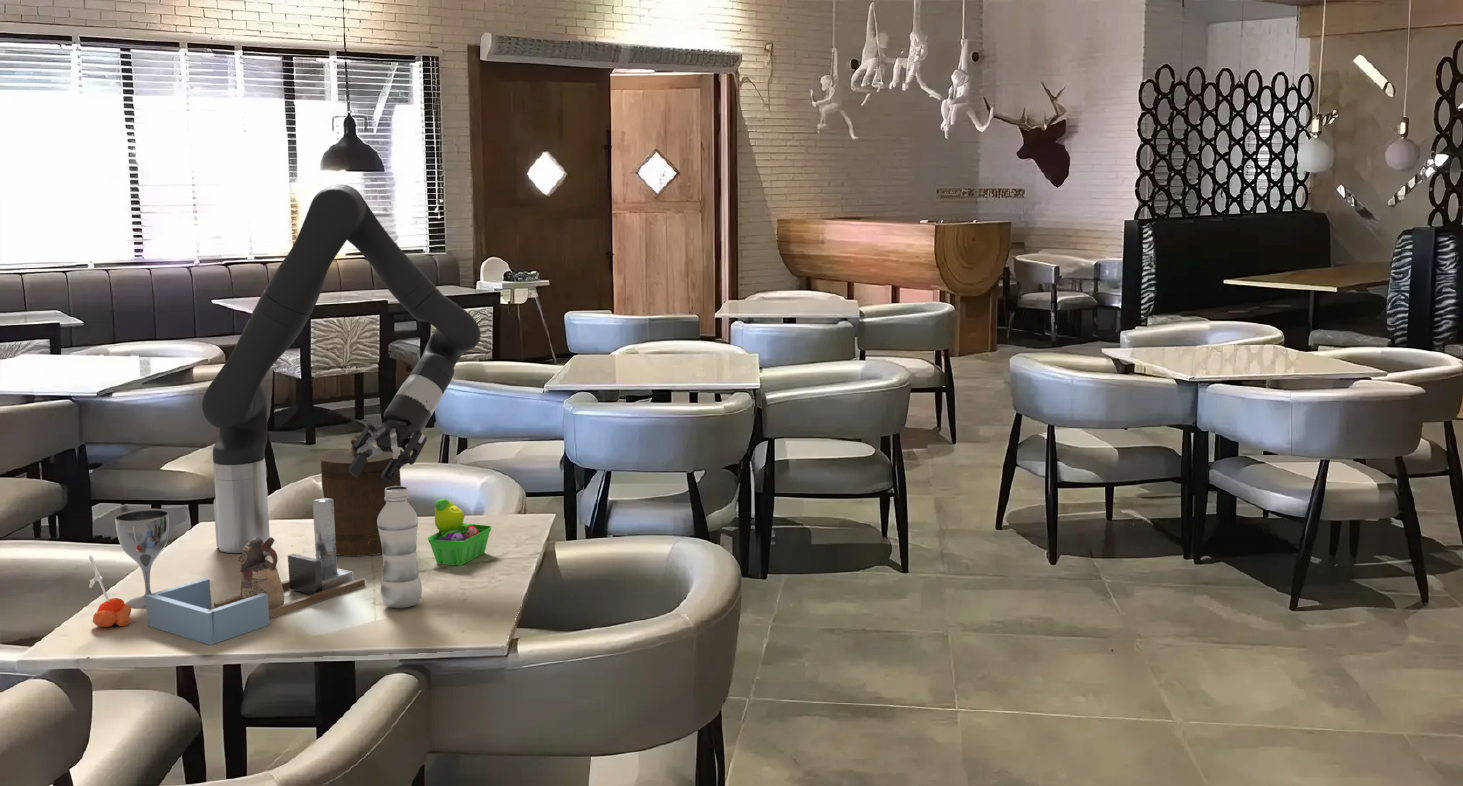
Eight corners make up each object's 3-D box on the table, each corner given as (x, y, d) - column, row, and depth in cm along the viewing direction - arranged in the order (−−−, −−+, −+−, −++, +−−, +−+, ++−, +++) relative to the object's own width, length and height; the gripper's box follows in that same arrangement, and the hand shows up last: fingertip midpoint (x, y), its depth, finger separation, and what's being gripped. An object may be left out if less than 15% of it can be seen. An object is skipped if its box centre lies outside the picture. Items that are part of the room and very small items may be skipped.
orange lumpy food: (71, 635, 192) (65, 561, 190) (112, 615, 201) (106, 544, 200) (106, 638, 191) (100, 563, 189) (145, 617, 200) (140, 545, 198)
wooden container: (361, 532, 250) (355, 425, 246) (420, 540, 244) (415, 431, 240) (308, 551, 237) (301, 438, 233) (368, 561, 231) (363, 445, 227)
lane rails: (214, 610, 203) (213, 603, 203) (323, 575, 222) (322, 569, 221) (257, 622, 198) (256, 615, 197) (365, 586, 216) (364, 579, 216)
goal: (147, 625, 196) (145, 595, 195) (207, 607, 205) (205, 578, 204) (210, 645, 188) (207, 613, 187) (269, 624, 197) (267, 594, 196)
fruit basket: (463, 568, 226) (460, 508, 224) (420, 564, 229) (418, 504, 227) (494, 551, 236) (492, 494, 235) (453, 547, 239) (451, 490, 237)
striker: (289, 589, 213) (284, 504, 211) (328, 576, 220) (323, 494, 218) (316, 596, 210) (311, 509, 207) (355, 583, 216) (350, 499, 214)
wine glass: (140, 612, 203) (133, 523, 200) (112, 603, 207) (105, 516, 204) (184, 598, 209) (178, 512, 207) (156, 590, 213) (149, 506, 211)
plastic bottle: (412, 613, 202) (406, 494, 198) (374, 611, 203) (367, 492, 200) (429, 601, 208) (424, 485, 205) (392, 598, 209) (386, 483, 206)
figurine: (249, 600, 208) (245, 531, 206) (291, 601, 208) (287, 532, 206) (231, 615, 201) (226, 543, 199) (274, 615, 201) (270, 544, 199)
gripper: (375, 389, 230) (329, 461, 223) (430, 396, 223) (384, 470, 215) (398, 413, 236) (353, 483, 228) (452, 420, 228) (408, 493, 220)
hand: (368, 477), depth 222 cm, fingers open, 8 cm apart
